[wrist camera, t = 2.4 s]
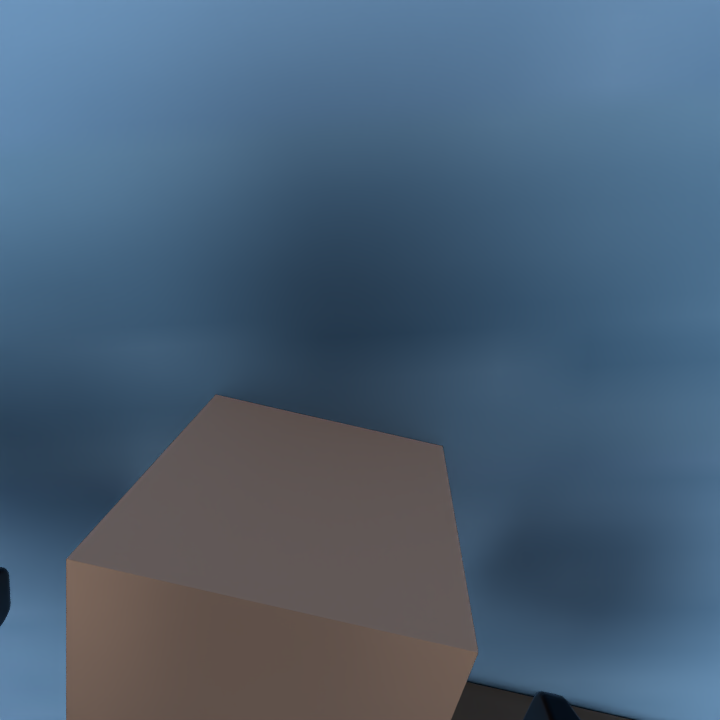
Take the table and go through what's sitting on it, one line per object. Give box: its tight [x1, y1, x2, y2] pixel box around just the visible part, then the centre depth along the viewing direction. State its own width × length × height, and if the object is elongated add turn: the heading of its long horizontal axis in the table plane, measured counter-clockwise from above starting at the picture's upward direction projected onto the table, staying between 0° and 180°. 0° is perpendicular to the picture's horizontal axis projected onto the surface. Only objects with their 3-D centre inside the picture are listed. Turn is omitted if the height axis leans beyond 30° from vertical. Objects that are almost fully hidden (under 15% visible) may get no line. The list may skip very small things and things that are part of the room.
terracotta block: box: [66, 395, 478, 720], centre depth 9 cm, size 5×5×5 cm
